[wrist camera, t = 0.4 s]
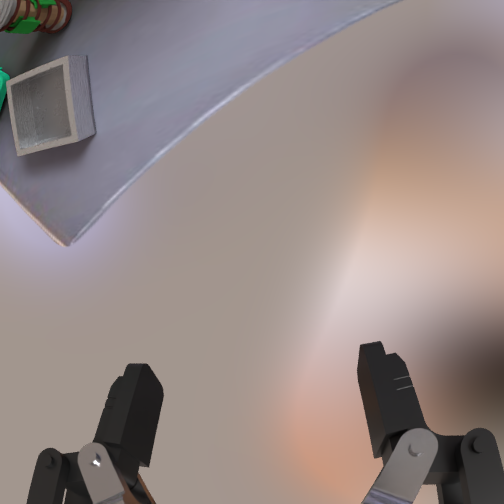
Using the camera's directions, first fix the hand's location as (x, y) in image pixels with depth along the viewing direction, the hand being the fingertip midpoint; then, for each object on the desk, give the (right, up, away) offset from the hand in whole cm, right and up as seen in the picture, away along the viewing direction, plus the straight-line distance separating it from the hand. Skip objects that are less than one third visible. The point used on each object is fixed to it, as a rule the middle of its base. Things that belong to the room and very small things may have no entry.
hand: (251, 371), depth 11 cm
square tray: (-24, +23, +20) cm, 39 cm away
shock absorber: (-24, +33, +13) cm, 43 cm away
